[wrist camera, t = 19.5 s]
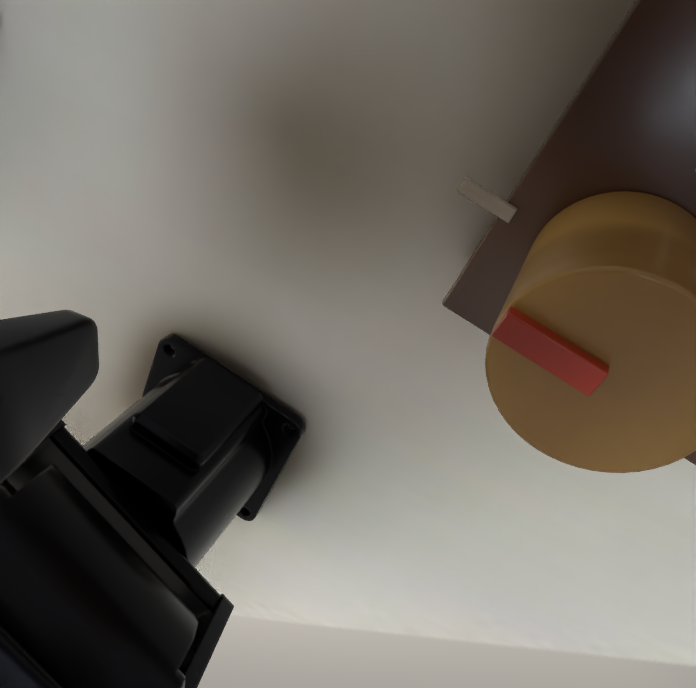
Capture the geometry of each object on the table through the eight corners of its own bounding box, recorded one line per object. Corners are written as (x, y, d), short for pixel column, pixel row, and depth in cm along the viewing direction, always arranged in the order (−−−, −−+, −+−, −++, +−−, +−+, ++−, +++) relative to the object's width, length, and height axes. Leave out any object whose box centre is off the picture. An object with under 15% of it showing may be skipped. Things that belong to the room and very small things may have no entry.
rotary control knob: (765, 254, 13) (808, 369, 9) (637, 386, 16) (630, 522, 12) (592, 155, 14) (565, 225, 10) (493, 298, 16) (440, 402, 12)
